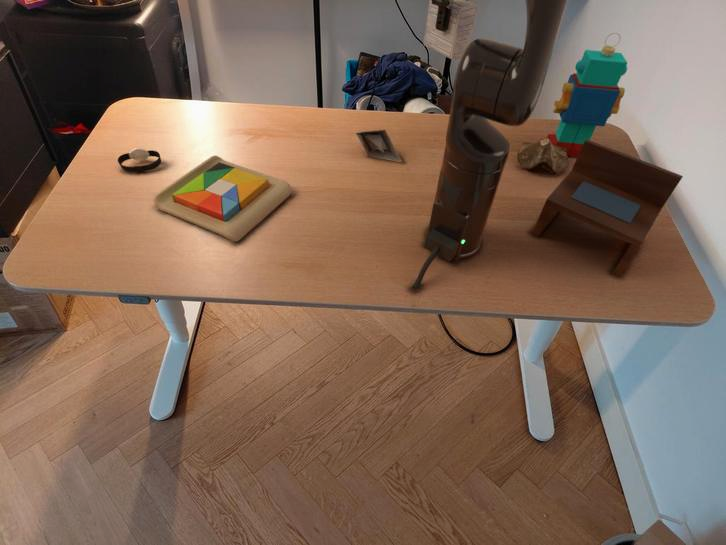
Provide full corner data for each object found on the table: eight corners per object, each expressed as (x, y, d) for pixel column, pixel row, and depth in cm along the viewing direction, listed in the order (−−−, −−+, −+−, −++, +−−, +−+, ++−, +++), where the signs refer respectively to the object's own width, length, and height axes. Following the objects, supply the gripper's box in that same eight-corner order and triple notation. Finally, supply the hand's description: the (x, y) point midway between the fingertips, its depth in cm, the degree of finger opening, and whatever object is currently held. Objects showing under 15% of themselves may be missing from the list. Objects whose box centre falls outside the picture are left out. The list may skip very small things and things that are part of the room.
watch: (162, 157, 96) (157, 141, 94) (163, 170, 93) (158, 154, 91) (121, 163, 94) (115, 147, 92) (121, 176, 91) (114, 160, 89)
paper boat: (403, 139, 103) (416, 152, 95) (387, 164, 105) (398, 179, 98) (357, 111, 98) (367, 122, 90) (341, 138, 100) (350, 151, 92)
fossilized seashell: (573, 153, 100) (525, 145, 104) (574, 135, 94) (524, 128, 98) (561, 184, 99) (514, 175, 103) (562, 169, 93) (512, 159, 97)
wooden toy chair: (620, 276, 79) (662, 212, 69) (532, 233, 86) (559, 168, 75) (641, 239, 86) (683, 175, 76) (558, 202, 92) (586, 138, 82)
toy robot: (589, 145, 107) (642, 28, 89) (595, 160, 103) (652, 41, 85) (537, 140, 107) (580, 23, 89) (542, 155, 103) (587, 36, 85)
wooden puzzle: (218, 161, 96) (215, 146, 94) (294, 192, 90) (293, 177, 88) (152, 207, 86) (146, 191, 83) (234, 246, 80) (230, 231, 77)
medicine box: (468, 56, 88) (479, 5, 82) (450, 60, 86) (460, 8, 80) (439, 41, 92) (448, -9, 86) (422, 45, 90) (429, -5, 84)
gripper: (470, -99, 79) (451, 11, 92) (425, -89, 71) (410, 30, 83) (511, -91, 76) (486, 21, 89) (469, -80, 68) (447, 42, 80)
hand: (449, 25), depth 86 cm, fingers closed on medicine box, 5 cm apart
